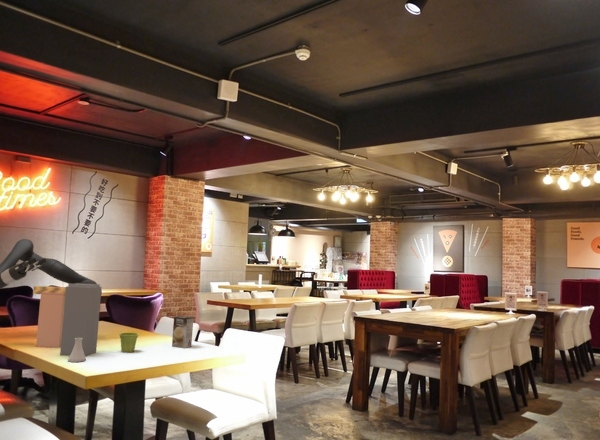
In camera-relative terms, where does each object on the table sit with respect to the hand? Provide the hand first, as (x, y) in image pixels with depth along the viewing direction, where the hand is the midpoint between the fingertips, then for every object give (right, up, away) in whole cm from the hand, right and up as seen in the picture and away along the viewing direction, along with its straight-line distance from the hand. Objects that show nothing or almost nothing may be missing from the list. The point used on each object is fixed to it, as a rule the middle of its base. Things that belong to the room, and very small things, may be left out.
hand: (41, 259), depth 251 cm
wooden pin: (+7, -19, +3) cm, 20 cm away
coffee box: (+69, -49, +14) cm, 86 cm away
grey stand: (+27, -44, -17) cm, 54 cm away
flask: (+34, -43, -33) cm, 64 cm away
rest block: (+6, -44, +1) cm, 45 cm away
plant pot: (+47, -46, -6) cm, 66 cm away
